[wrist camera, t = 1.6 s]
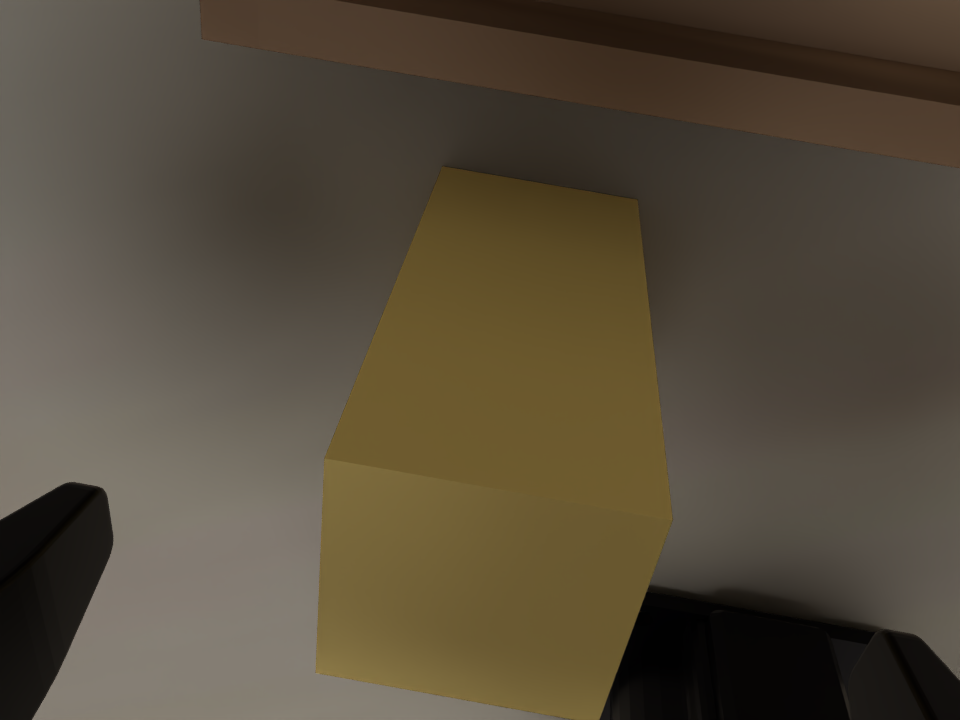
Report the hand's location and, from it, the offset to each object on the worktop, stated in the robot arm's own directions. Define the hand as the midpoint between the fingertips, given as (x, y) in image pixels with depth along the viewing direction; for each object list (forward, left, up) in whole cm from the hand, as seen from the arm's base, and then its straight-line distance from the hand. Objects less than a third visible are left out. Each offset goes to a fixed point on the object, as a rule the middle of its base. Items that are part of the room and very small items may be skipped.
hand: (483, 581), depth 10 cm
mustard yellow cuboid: (0, 0, -8) cm, 8 cm away
